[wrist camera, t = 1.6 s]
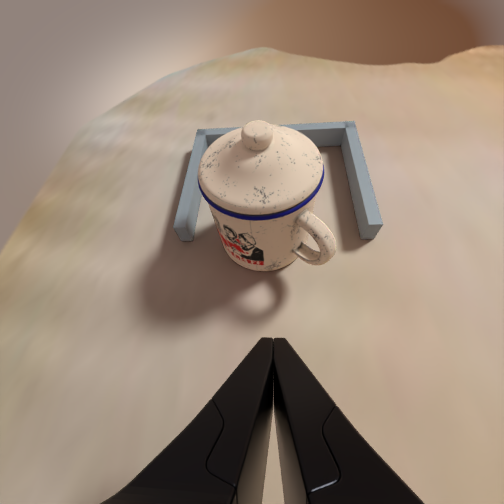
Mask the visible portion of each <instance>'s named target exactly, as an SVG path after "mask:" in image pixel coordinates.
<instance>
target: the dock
mask: <svg viewBox="0 0 504 504" xmlns="http://www.w3.org/2000/svg"><path fill="white" fill-rule="evenodd" d="M279 126H284V127H288V128H291V129H294V130H296V131H298V132H300V133H302V134H303V135H305V136H306V137H308V138H309V139H310V140H311V141H312V142H313V143H314V144H315V146H316V147H322V146H341V149H342V154H343V158H344V163H345V168H346V172H347V177H348V182H349V186H350V191H351V196H352V200H353V205H354V210H355V214H356V219H357V224H358V228H359V233H360V238H361V239H374V238H375V236H376V235H377V233H378V232H379V230H380V228H381V227H382V225H383V222H382V219H381V215H380V211H379V208H378V204H377V201H376V197H375V193H374V190H373V186H372V183H371V179H370V175H369V172H368V168H367V165H366V161H365V157H364V154H363V150H362V147H361V143H360V139H359V136H358V132H357V129H356V125H355V121H345V122H327V123H309V124H290V125H279ZM238 128H242V127H235V128H216V129H198V130H197V133H196V137H195V141H194V145H193V149H192V153H191V157H190V161H189V165H188V169H187V173H186V177H185V182H184V186H183V190H182V194H181V198H180V202H179V206H178V210H177V214H176V218H175V222H174V226H173V228H174V230H175V232H176V233H177V235H178V236H179V238H180V240H181V241H193V237H194V231H195V226H196V221H197V216H198V211H199V205H200V200H201V195H202V194H201V191H200V189H199V185H198V168H199V164H200V161H201V158H202V156H203V154H204V153H205V151H206V150H207V149H208V147H209V146H210V145H211V144H212V143H213V142H214V141H216V140H217V139H218V138H220V137H221V136H223V135H225V134H226V133H228V132H231V131H233V130H235V129H238Z"/></svg>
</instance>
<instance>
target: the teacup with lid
mask: <svg viewBox="0 0 504 504" xmlns="http://www.w3.org/2000/svg"><path fill="white" fill-rule="evenodd" d="M323 178H324V165H323V161H322V157H321V154H320V152H319V150H318V149H317V147H316V146H315V144H314V143H313V142H312V141H311V140H310V139H309V138H308V137H306V136H305V135H303V134H302V133H300V132H298V131H296V130H294V129H291V128H288V127H284V126H279V125H271V124H268V123H267V122H265V121H260V120H256V121H251V122H249V123H247V124H246V125H245V126H244V127H242V128H238V129H235V130H233V131H231V132H228V133H226V134H225V135H223V136H221V137H220V138H218V139H217V140H216V141H214V142H213V143H212V144H211V145H210V146H209V147H208V149H207V150H206V151H205V153H204V154H203V156H202V158H201V161H200V164H199V168H198V185H199V189H200V191H201V194H202V195H203V197H204V198H205V200H206V201H207V202H208V204H209V207H210V210H211V212H212V215H213V218H214V221H215V224H216V227H217V229H218V232H219V235H220V238H221V241H222V243H223V246H224V249H225V251H226V252H227V254H228V255H229V256H230V258H231V259H232V260H233V261H235V262H236V263H237V264H239V265H241V266H243V267H245V268H248V269H251V270H256V271H271V270H276V269H280V268H282V267H284V266H286V265H288V264H290V263H292V262H293V261H294V260H295V259H296V258H297V257H299V258H300V259H302V260H303V261H305V262H307V263H309V264H312V265H322V264H325V263H326V262H328V261H329V260H330V259H331V258H332V257H333V256H334V254H335V252H336V241H335V238H334V236H333V234H332V233H331V231H330V230H329V228H328V227H327V226H326V225H325V224H324V223H323V222H322V221H321V220H320V219H319V218H317V217H316V216H315V215H313V209H314V204H315V199H316V194H317V192H318V191H319V189H320V187H321V184H322V182H323ZM308 233H309V234H310V235H311V236H312V237H313V238H314V239H315V241H316V242H317V244H318V246H319V248H320V252H318V251H315V250H313V249H311V248H310V247H308V246H307V245H306V242H307V238H308Z"/></svg>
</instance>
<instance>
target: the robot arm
mask: <svg viewBox="0 0 504 504" xmlns="http://www.w3.org/2000/svg"><path fill="white" fill-rule="evenodd" d="M273 382H274V415H275V424H276V433H277V441H278V450H279V459H280V467H281V476H282V485H283V493H284V502H285V504H424V503H423V501H422V500H421V499H420V498H419V497H418V496H417V495H416V494H415V493H414V492H413V491H412V490H411V489H410V488H409V487H408V486H407V484H406V483H405V482H404V481H403V480H402V479H401V478H400V477H399V476H398V475H397V474H396V473H395V472H394V471H393V470H392V468H391V467H390V466H389V465H388V464H387V463H386V462H385V461H384V460H383V459H382V458H381V457H380V456H379V455H378V454H377V452H376V451H375V450H374V449H373V448H372V447H371V446H370V445H369V444H368V443H367V441H366V440H365V439H364V438H363V437H362V436H361V435H360V434H359V433H358V431H357V430H356V429H355V428H354V426H353V425H352V424H351V423H350V421H349V420H348V419H347V418H346V416H345V415H344V414H343V413H342V411H341V410H340V409H339V407H338V406H336V404H335V402H334V401H333V400H332V398H331V397H330V396H329V394H328V393H327V392H326V391H325V389H324V388H323V387H322V385H321V384H320V383H319V381H318V380H317V379H316V378H315V376H314V375H313V374H312V372H311V371H310V370H309V368H308V367H307V366H306V364H305V363H304V362H303V361H302V359H301V358H300V357H299V355H298V354H297V353H296V351H295V350H294V349H293V348H292V346H291V345H290V344H289V342H288V341H287V340H286V339H285V338H274V341H273V338H266V337H262V338H261V339H260V340H259V341H258V342H257V344H256V345H255V346H254V347H253V348H252V350H251V351H250V352H249V353H248V355H247V356H246V357H245V358H244V359H243V361H242V362H241V363H240V364H239V365H238V367H237V368H236V369H235V370H234V372H233V373H232V374H231V375H230V376H229V378H228V379H227V380H226V381H225V382H224V384H223V385H222V386H221V387H220V389H219V390H218V391H217V392H216V393H215V395H214V396H213V397H212V399H211V400H209V402H208V403H207V404H206V405H205V407H204V408H203V409H202V410H201V411H200V412H199V414H198V415H197V416H196V417H195V418H194V419H193V420H192V422H191V423H190V424H189V425H188V426H187V427H186V428H185V429H184V430H183V431H182V432H181V433H180V434H179V435H178V436H177V437H176V438H175V439H174V440H173V441H172V442H171V443H170V444H169V445H168V446H167V447H166V448H165V449H164V450H163V451H162V452H161V453H160V454H159V455H158V456H156V457H155V458H154V459H153V460H152V461H151V462H150V463H149V464H148V465H147V466H146V467H145V468H144V469H143V470H142V471H141V472H140V473H139V474H138V475H137V476H136V477H135V478H134V479H133V480H132V481H131V482H130V483H128V484H127V485H126V486H125V487H124V488H123V489H121V490H120V491H119V492H118V493H116V494H115V495H113V496H112V497H110V498H109V499H107V500H106V501H104V502H102V503H100V504H262V497H263V489H264V480H265V472H266V464H267V456H268V447H269V439H270V431H271V423H272V414H273Z"/></svg>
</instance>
